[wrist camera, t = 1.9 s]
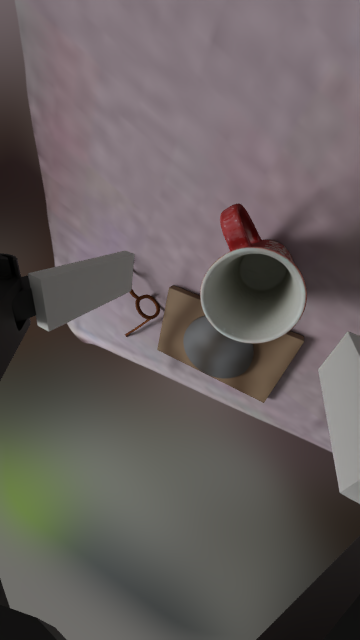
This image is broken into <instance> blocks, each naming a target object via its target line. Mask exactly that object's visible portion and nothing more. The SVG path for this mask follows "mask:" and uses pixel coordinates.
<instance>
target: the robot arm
mask: <svg viewBox="0 0 360 640" xmlns="http://www.w3.org/2000/svg"><path fill="white" fill-rule="evenodd" d="M133 266H134V254H133V253H130V252H127V251H122V252H118V253H113V254H109V255H105V256H100V257H96V258H92V259H88V260H83V261H79V262H75V263H71V264H66V265H62V266H58V267H53V268H49V269H45V270H41V271H36V272H32V273H28V276H24V277H21V275H20V270H19V266H18V261H17V258H16V257H15V256H13V255H9V254H2V253H0V380H1V378H2V376H3V374H4V372H5V371H6V369H7V367H8V365H9V363H10V361H11V359H12V358H13V356H14V354H15V352H16V350H17V348H18V346H19V345H20V342H21V341H22V339H23V337H24V335H25V333H26V331H27V330H28V328H29V326H30V317H33V316H35V315H36V318H37V324H38V326H40V327H42V328H43V329H45V330H47V331H51V330H53V329H55V328H57V327H59V326H61V325H63V324H65V323H67V322H69V321H71V320H73V319H75V318H77V317H79V316H81V315H83V314H85V313H87V312H89V311H91V310H94V309H96V308H98V307H100V306H102V305H104V304H106V303H108V302H110V301H112V300H114V299H116V298H118V297H120V296H122V295H124V294H126V293H128V292H130V291H131V289H132V277H133ZM318 371H319V377H320V382H321V388H322V394H323V399H324V405H325V411H326V417H327V422H328V428H329V434H330V439H331V445H332V451H333V457H334V462H335V468H336V474H337V479H338V485H339V491H340V493H341V494H343V495H345V496H347V497H348V498H350V499H352V500H354V501H355V502H358V503H359V504H360V336H359V335H356V334H353V333H351V332H347V333H346V334H345V336H344V337H343V338H342V339H341V341H340V342H339V343H338V345H337V346H336V347H335V349H334V350H333V351H332V352H331V354H330V355H329V356H328V358H327V359H326V360H325V361H324V363H323V364H322V365H321V367H320V368H319V369H318ZM0 640H66V639H65V638H64V637H63V635H62V634H61V633H60V632H59V631H58V630H57V629H56V628H55V627H53V626H51V625H49V624H47V623H45V622H44V621H42V620H40V619H38V618H36V617H33V616H30V615H27V614H24V613H22V612H19V611H16V610H13V609H10V607H9V604H8V601H7V598H6V595H5V592H4V589H3V586H2V583H1V580H0ZM256 640H360V536H359V537H358V538H357V539H356V540H355V541H354V542H353V543H352V544H351V545H350V546H349V547H348V548H347V549H346V550H345V551H344V552H343V553H342V554H341V555H340V556H339V557H338V558H337V559H336V560H335V561H334V562H333V563H332V564H331V565H330V566H329V567H328V568H327V569H326V570H325V571H324V572H323V573H322V574H321V575H320V576H319V577H318V578H317V579H316V580H315V581H314V582H313V583H312V584H311V585H310V586H309V587H308V588H307V589H306V590H305V591H304V592H303V593H302V594H301V595H300V596H299V598H297V599H296V600H295V601H294V602H293V603H292V604H291V605H290V606H289V607H288V608H287V609H286V610H285V611H284V613H282V614H281V615H280V617H278V618H277V619H276V621H274V623H272V624H271V625H270V626H269V628H267V629H266V631H264V632H263V633H262V635H260V637H258V638H257V639H256Z"/></svg>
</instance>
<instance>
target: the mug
mask: <svg viewBox="0 0 360 640" xmlns="http://www.w3.org/2000/svg"><path fill="white" fill-rule="evenodd" d="M220 223H221V228H222V232H223V235H224V237H225V240H226V242H227V244H228V246H229V249H230V252H229V253H227V254H225V255H223V256H222V257H220V258H219V259H218V260H217V261H215V262H214V263H213V265H212V266H211V267H210V268H209V270H208V271H207V273H206V274H205V276H204V279H203V282H202V285H201V291H200V299H201V306H202V309H203V311H204V314H205V316H206V318H207V319H208V321H209V322H210V323H211V325H212V326H213V327H214V328H215V329H216V330H217V331H219V332H220V333H221V334H223V335H225V336H226V337H228V338H230V339H233V340H236V341H239V342H244V343H264V342H269V341H272V340H275V339H277V338H279V337H281V336H283V335H285V334H286V333H287V332H289V331H290V330H291V329H292V328H293V327H294V326H295V325H296V324H297V322H298V321H299V320H300V318H301V316H302V314H303V312H304V309H305V306H306V300H307V290H306V284H305V281H304V278H303V276H302V274H301V272H300V270H299V269H298V267H297V266H296V265H295V264H294V262H293V260H292V256H291V254H290V253H289V251H288V250H287V249H286V248H285V247H284V246H283V245H282V244H280V243H278V242H275V241H272V240H262V239H261V238H260V236H259V234H258V232H257V230H256V228H255V226H254V224H253V222H252V220H251V218H250V216H249V214H248V213H247V211H246V210H245V208H244V207H243V206H242V205H241V204H234V205H232V206H230V207H229V208H227V209H225V210H224V211H223V212H222V213H221V216H220Z"/></svg>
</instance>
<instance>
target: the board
mask: <svg viewBox="0 0 360 640" xmlns="http://www.w3.org/2000/svg"><path fill="white" fill-rule="evenodd" d="M303 342H304V336H302V335H299V334H296V333H294V332H291V331H289V332H287V333H286V334H285V335H283V336H281V337H279V338H277V339H275V340H272V341H269V342H264V343H244V342H239V341H236V340H233V339H230V338H228V337H226V336H225V335H223V334H221V333H220V332H219V331H217V330H216V329H215V328H214V327H213V326H212V325H211V323H210V322H209V321H208V319H207V318H206V316H205V314H204V311H203V309H202V306H201V299H200V296H199V295H197V294H194V293H192V292H189V291H187V290H184V289H182V288H179V287H176V286H174V285H173V286H171V287H169V291H168V296H167V301H166V307H165V312H164V317H163V323H162V328H161V333H160V338H159V344H158V349H157V350H159V351H161V352H163V353H165V354H167V355H169V356H171V357H173V358H175V359H177V360H179V361H181V362H183V363H185V364H187V365H189V366H191V367H193V368H195V369H197V370H199V371H201V372H203V373H205V374H207V375H209V376H211V377H213V378H215V379H217V380H219V381H221V382H223V383H225V384H227V385H229V386H231V387H233V388H235V389H237V390H239V391H241V392H243V393H245V394H247V395H249V396H251V397H253V398H255V399H257V400H259V401H261V402H263V403H264V402H265V400H266V399H267V397H268V396H269V394H270V393H271V391H272V390H273V388H274V387H275V385H276V383H277V382H278V380H279V379H280V377H281V376H282V374H283V373H284V371H285V370H286V368H287V367H288V365H289V364H290V362H291V361H292V359H293V358H294V356H295V355H296V353H297V352H298V350H299V349H300V347H301V346H302V344H303Z"/></svg>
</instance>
